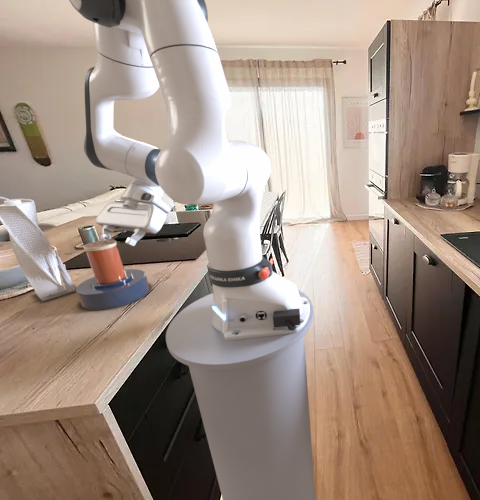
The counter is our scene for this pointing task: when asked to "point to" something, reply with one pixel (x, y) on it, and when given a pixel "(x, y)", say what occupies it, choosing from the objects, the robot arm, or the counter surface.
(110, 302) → the blue round puck
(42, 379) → the counter surface
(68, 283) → the skyscraper
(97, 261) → the terracotta cup
